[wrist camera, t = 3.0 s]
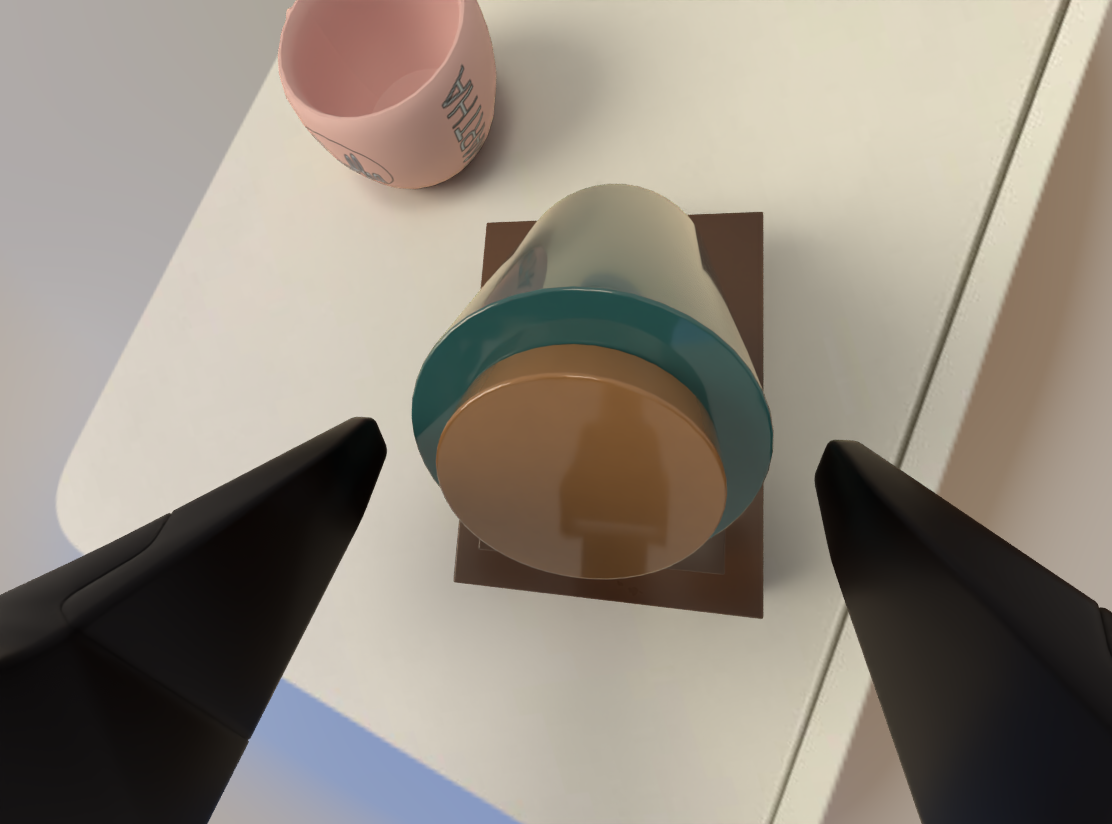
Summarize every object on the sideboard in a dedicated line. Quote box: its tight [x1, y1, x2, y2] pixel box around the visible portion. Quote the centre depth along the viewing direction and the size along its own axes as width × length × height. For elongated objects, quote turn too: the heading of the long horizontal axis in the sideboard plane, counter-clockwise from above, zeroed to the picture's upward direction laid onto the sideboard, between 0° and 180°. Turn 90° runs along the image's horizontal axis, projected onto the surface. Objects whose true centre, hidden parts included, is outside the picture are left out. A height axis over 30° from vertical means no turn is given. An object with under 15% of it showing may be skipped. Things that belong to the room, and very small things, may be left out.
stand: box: [454, 212, 763, 619], centre depth 17 cm, size 16×12×6 cm
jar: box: [412, 184, 773, 579], centre depth 12 cm, size 11×7×11 cm, turn 176°
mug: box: [278, 0, 497, 189], centre depth 22 cm, size 12×10×6 cm
